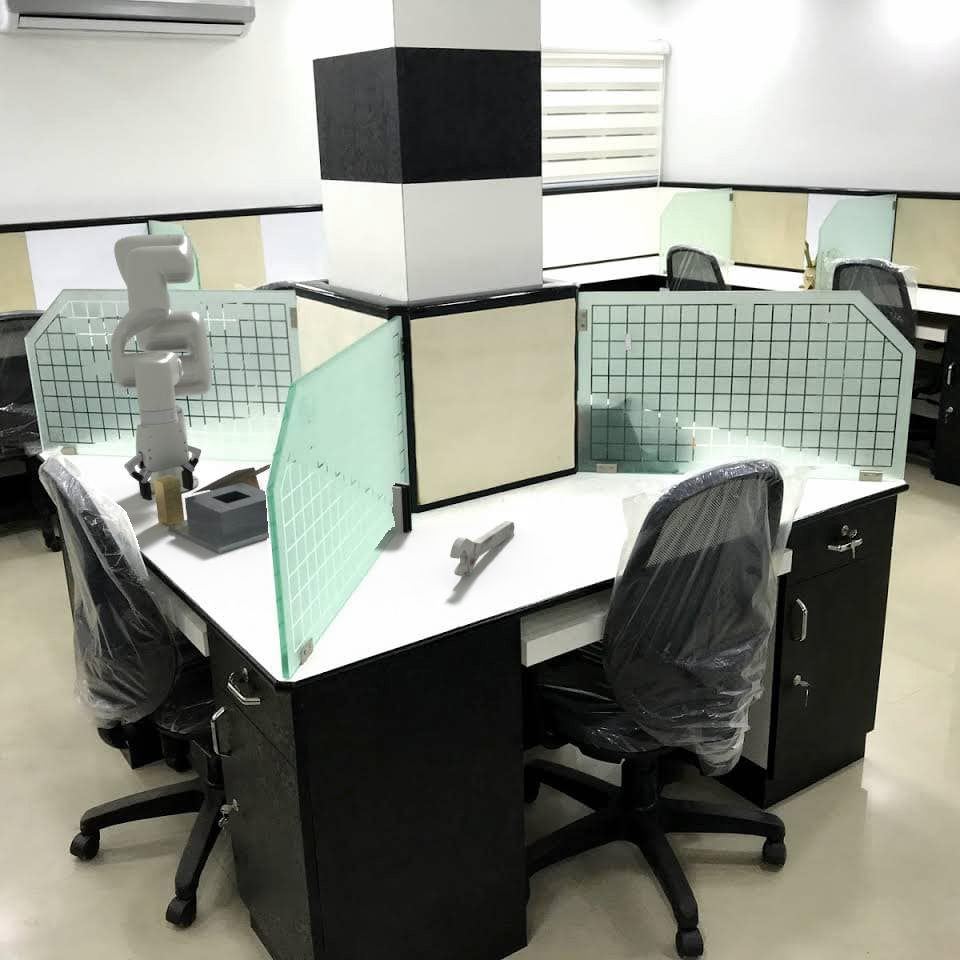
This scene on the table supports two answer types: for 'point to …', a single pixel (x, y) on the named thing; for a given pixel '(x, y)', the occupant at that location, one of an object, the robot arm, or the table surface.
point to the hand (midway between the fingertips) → (168, 494)
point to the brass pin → (168, 500)
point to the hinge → (401, 508)
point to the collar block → (225, 518)
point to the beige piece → (236, 479)
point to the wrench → (478, 547)
